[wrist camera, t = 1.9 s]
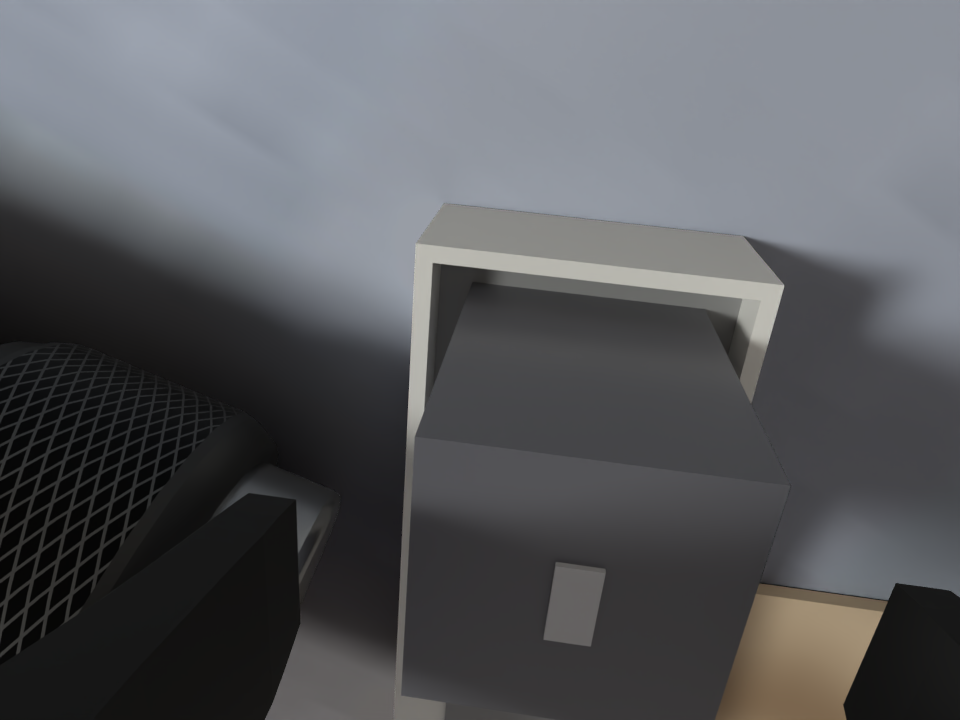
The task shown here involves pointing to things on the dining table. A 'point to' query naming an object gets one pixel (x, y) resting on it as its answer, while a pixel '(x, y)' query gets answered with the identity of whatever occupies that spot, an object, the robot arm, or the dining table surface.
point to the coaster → (798, 655)
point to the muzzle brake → (118, 480)
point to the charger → (585, 511)
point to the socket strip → (578, 270)
